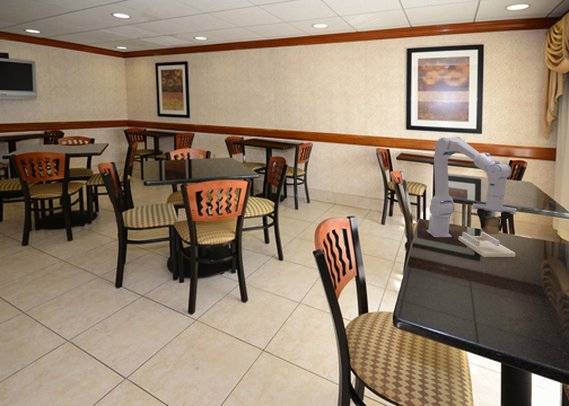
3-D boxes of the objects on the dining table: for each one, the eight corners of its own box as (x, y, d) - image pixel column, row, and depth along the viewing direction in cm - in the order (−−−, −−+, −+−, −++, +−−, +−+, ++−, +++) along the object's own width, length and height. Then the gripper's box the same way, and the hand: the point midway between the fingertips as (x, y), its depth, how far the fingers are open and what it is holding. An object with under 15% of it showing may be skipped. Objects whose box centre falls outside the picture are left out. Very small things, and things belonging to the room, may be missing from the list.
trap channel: (458, 239, 154) (459, 231, 153) (485, 239, 154) (486, 231, 153) (483, 257, 134) (484, 248, 134) (515, 256, 134) (516, 248, 134)
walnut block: (482, 231, 140) (484, 216, 138) (492, 231, 139) (494, 216, 138) (487, 234, 136) (489, 219, 134) (498, 234, 135) (500, 219, 134)
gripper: (518, 195, 133) (513, 229, 136) (476, 191, 141) (472, 223, 145) (517, 199, 128) (512, 234, 131) (473, 194, 136) (468, 227, 139)
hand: (490, 229), depth 137 cm, fingers closed on walnut block, 5 cm apart
